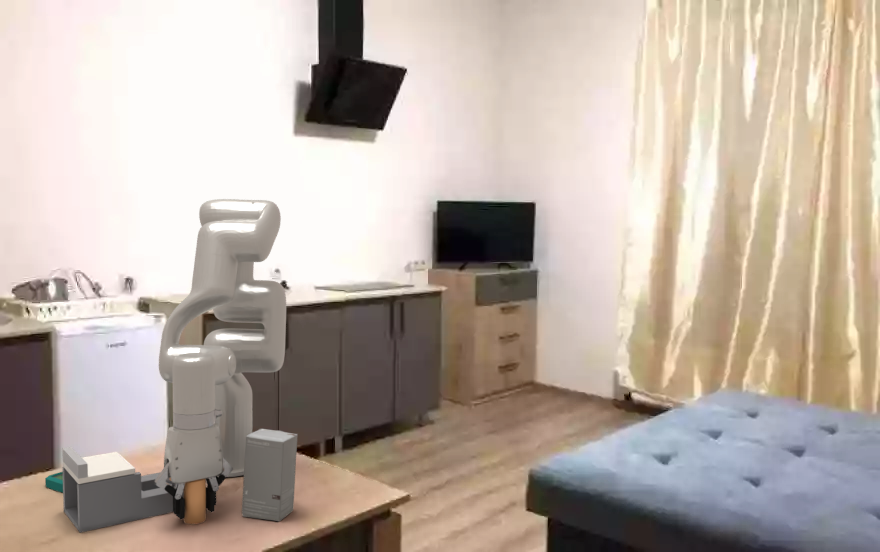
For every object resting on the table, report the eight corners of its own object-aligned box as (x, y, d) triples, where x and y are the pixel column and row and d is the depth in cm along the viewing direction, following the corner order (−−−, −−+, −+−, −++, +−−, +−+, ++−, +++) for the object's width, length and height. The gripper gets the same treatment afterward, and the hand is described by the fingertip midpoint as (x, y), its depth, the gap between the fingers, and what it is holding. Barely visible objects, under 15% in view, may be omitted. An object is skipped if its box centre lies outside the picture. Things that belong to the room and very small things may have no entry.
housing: (183, 486, 170) (183, 445, 169) (205, 504, 160) (205, 461, 159) (63, 511, 155) (62, 466, 155) (79, 532, 146) (78, 485, 145)
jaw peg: (201, 514, 156) (200, 473, 155) (209, 520, 153) (209, 479, 152) (180, 518, 153) (180, 477, 152) (188, 525, 150) (188, 483, 149)
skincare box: (241, 517, 155) (240, 436, 153) (259, 503, 161) (259, 426, 160) (281, 523, 152) (281, 441, 151) (297, 509, 159) (298, 430, 158)
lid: (116, 456, 160) (116, 439, 160) (135, 473, 151) (135, 455, 151) (62, 466, 154) (62, 448, 154) (78, 484, 145) (78, 465, 145)
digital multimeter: (127, 475, 177) (127, 462, 176) (66, 496, 164) (65, 482, 164) (105, 469, 180) (104, 456, 180) (43, 489, 168) (43, 475, 167)
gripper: (229, 408, 159) (229, 497, 161) (141, 421, 149) (142, 517, 150) (245, 417, 153) (245, 509, 155) (154, 431, 143) (156, 530, 145)
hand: (194, 512), depth 153 cm, fingers open, 5 cm apart
